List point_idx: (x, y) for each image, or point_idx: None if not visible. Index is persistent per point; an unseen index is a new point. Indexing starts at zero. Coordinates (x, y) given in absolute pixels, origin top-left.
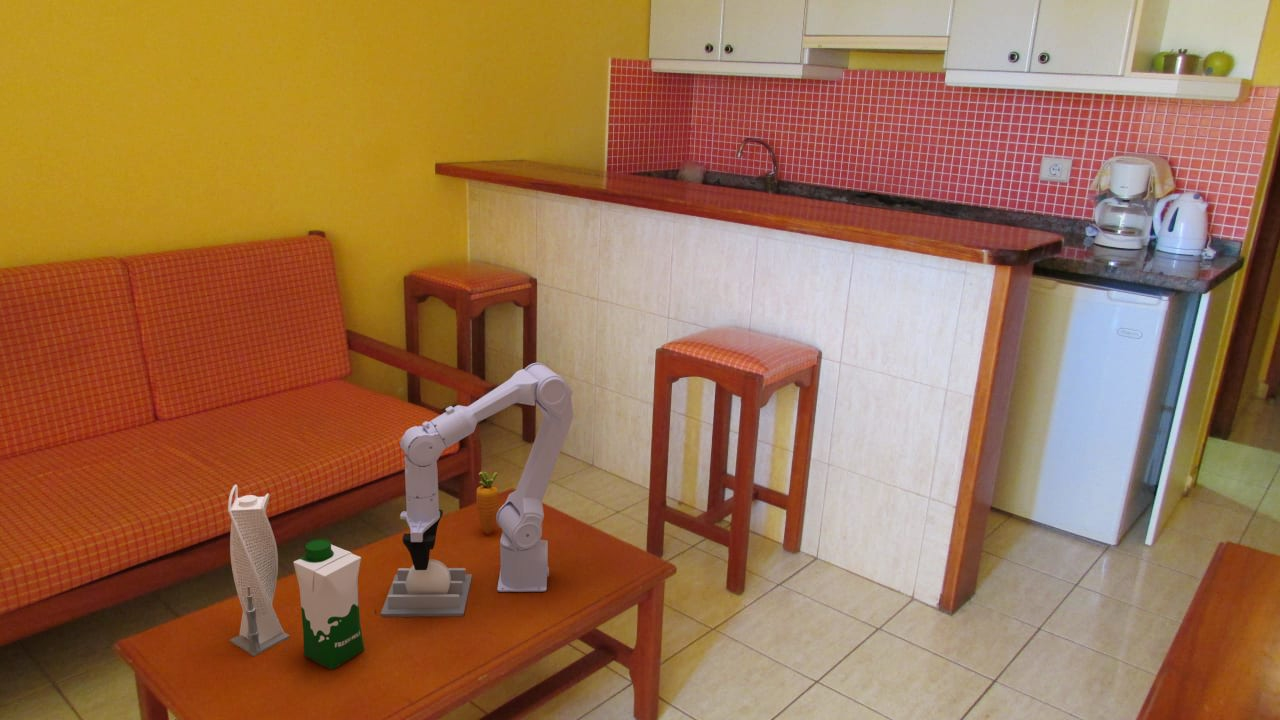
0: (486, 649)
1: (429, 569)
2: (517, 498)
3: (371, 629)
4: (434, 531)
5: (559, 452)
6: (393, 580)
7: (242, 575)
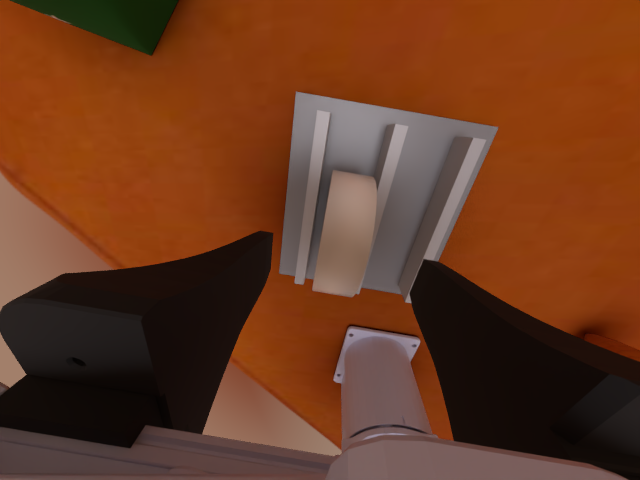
0: None
1: (317, 261)
2: None
3: (241, 69)
4: (441, 366)
5: None
6: (465, 122)
7: None
